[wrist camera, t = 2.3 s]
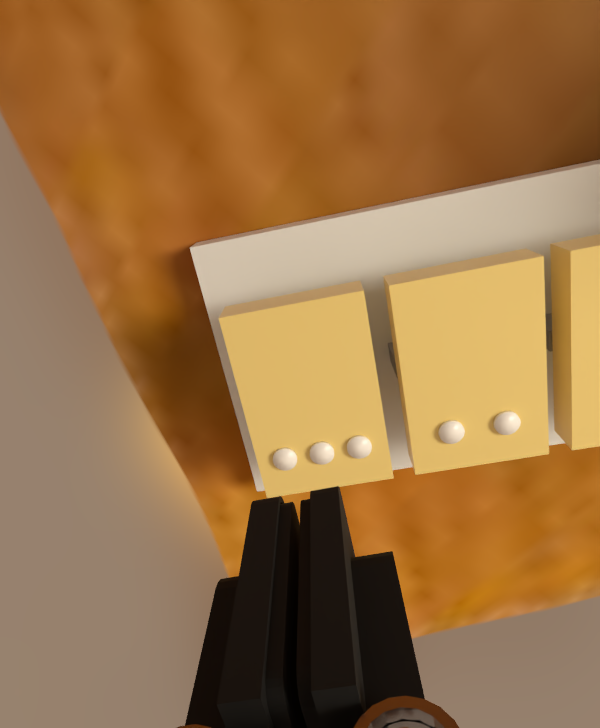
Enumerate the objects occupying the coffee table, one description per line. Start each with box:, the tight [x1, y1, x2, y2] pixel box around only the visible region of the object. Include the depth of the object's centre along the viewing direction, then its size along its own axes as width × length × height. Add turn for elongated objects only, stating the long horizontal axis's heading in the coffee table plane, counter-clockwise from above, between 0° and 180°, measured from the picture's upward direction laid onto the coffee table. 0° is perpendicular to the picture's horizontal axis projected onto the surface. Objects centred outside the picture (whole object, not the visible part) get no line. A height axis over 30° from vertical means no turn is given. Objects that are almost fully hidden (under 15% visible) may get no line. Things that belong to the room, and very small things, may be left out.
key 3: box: [219, 281, 394, 498], centre depth 23 cm, size 9×6×2 cm, turn 11°
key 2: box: [383, 248, 549, 475], centre depth 22 cm, size 9×6×2 cm, turn 11°
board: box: [190, 160, 600, 491], centre depth 25 cm, size 14×23×4 cm, turn 101°
